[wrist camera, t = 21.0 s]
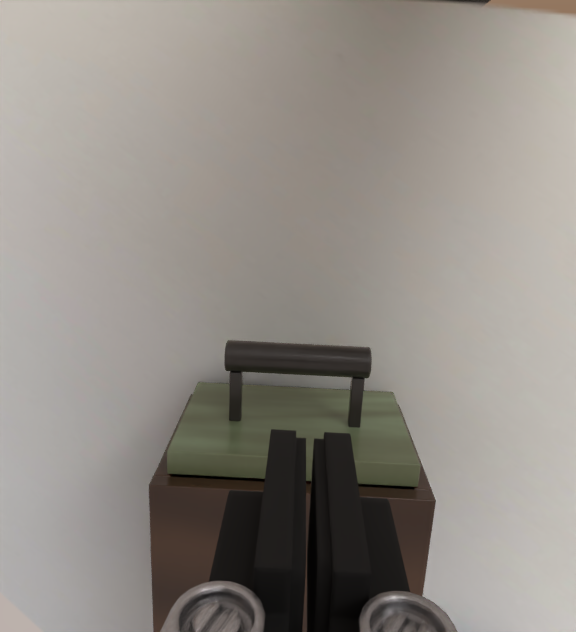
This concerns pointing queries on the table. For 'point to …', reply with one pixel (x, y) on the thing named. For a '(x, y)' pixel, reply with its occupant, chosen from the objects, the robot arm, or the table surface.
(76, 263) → the table surface
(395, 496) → the cabinet
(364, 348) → the drawer
